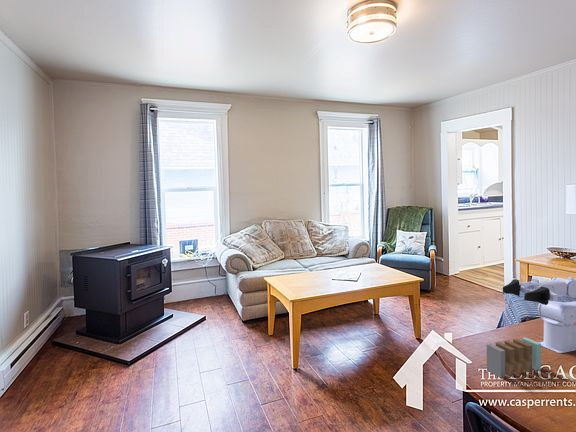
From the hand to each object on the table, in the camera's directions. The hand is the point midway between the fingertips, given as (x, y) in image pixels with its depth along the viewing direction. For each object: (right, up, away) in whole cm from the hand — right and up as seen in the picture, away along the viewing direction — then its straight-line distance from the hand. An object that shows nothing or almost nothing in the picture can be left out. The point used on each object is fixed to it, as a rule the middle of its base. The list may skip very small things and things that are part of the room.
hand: (514, 293), depth 112 cm
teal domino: (+2, -21, -5) cm, 22 cm away
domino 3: (-1, -22, -6) cm, 23 cm away
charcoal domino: (-11, -22, -9) cm, 26 cm away
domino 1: (-8, -22, -8) cm, 25 cm away
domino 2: (-5, -22, -7) cm, 23 cm away
